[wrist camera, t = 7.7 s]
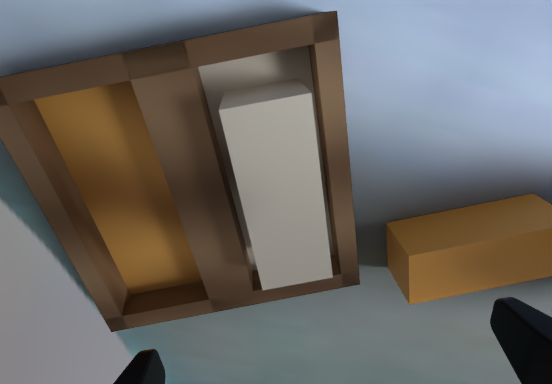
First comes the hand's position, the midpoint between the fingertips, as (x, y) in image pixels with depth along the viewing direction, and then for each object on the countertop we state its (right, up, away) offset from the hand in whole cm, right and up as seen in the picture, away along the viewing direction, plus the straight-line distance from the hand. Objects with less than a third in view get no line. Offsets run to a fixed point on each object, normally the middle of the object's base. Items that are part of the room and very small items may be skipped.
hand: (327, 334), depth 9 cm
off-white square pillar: (-1, +5, +9) cm, 10 cm away
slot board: (-5, +4, +10) cm, 12 cm away
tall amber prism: (+10, +1, +13) cm, 16 cm away
